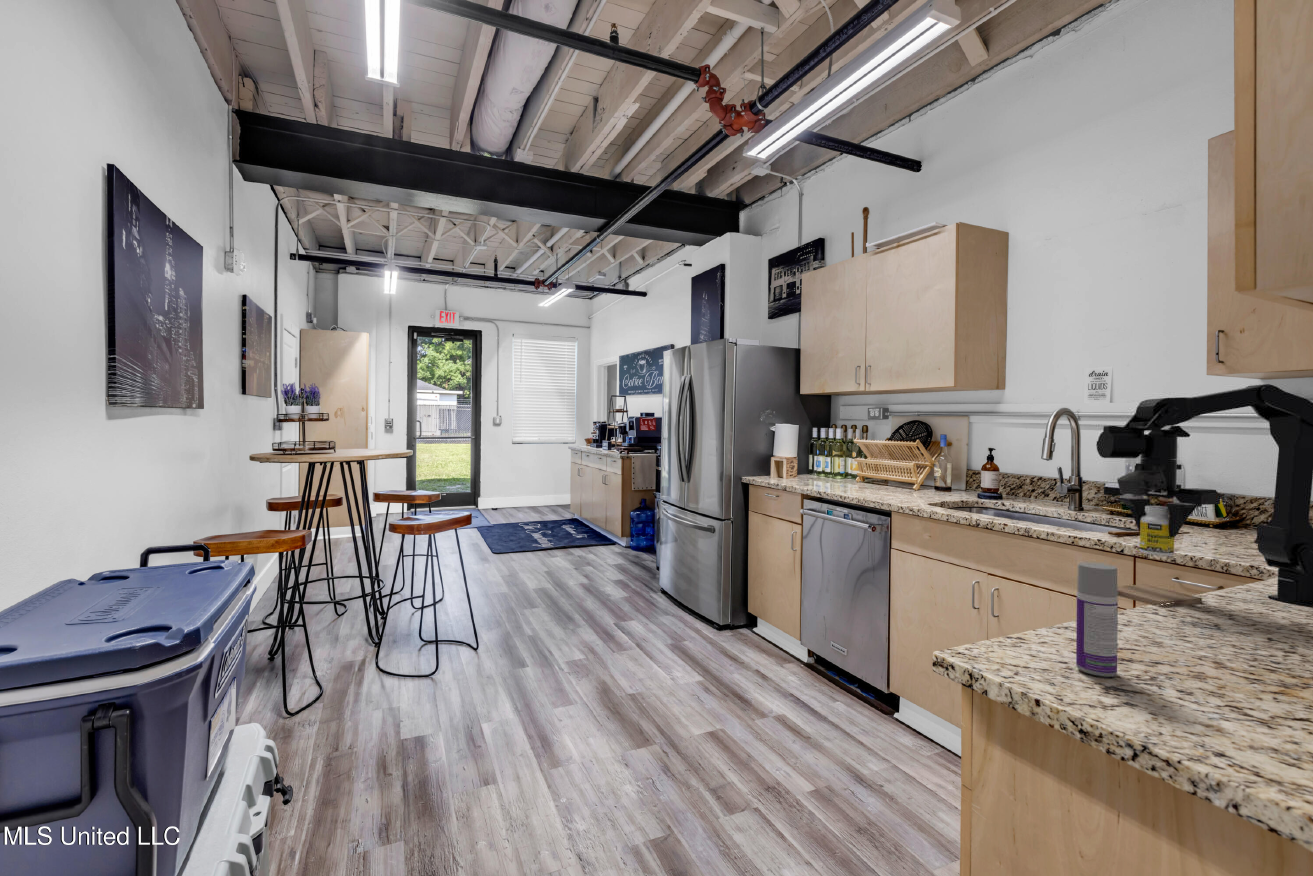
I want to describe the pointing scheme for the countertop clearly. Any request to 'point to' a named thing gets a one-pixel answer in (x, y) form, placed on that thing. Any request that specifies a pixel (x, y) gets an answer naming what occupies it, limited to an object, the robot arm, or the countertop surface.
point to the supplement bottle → (1156, 532)
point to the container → (1097, 619)
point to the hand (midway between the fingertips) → (1156, 534)
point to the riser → (1156, 595)
